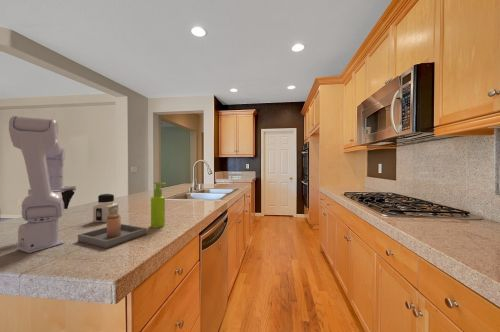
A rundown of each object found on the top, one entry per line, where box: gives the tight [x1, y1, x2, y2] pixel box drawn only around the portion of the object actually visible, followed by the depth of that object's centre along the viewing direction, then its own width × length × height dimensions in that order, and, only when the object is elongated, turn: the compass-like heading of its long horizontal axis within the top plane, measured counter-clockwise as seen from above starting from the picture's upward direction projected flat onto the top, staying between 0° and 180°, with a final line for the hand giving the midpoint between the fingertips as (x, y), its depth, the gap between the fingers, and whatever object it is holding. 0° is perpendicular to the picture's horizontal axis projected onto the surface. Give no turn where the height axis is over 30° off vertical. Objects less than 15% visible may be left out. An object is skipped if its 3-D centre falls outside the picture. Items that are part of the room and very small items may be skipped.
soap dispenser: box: [150, 181, 167, 228], centre depth 98 cm, size 6×7×20 cm
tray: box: [77, 223, 148, 250], centre depth 82 cm, size 16×16×2 cm
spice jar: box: [106, 214, 122, 238], centre depth 82 cm, size 5×5×8 cm
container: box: [92, 193, 119, 223], centre depth 107 cm, size 8×8×13 cm
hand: (53, 210), depth 86 cm, fingers open, 7 cm apart
